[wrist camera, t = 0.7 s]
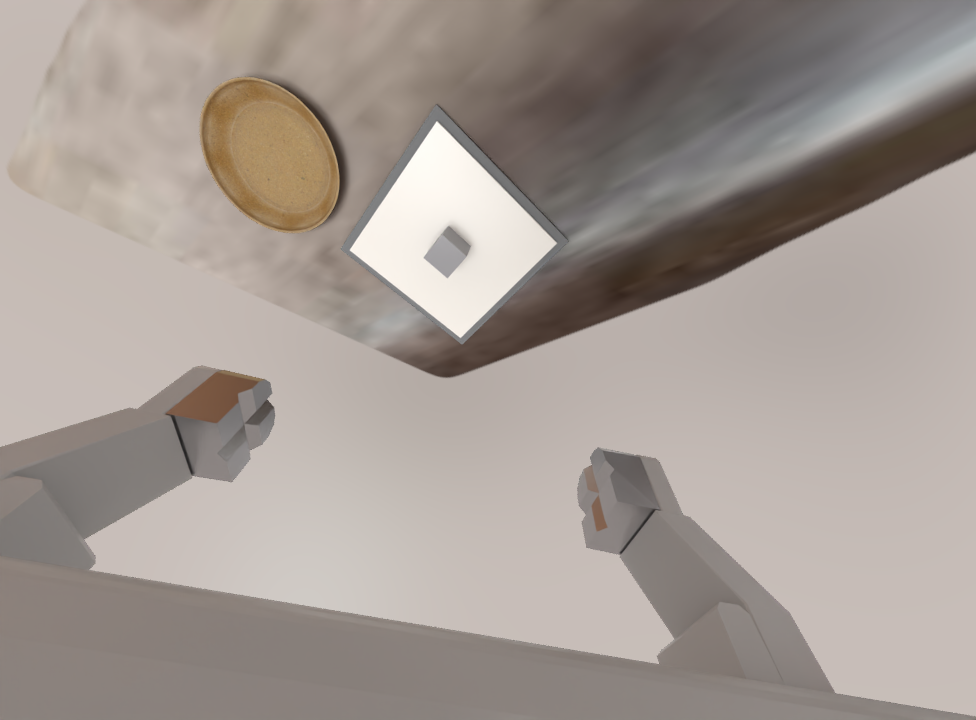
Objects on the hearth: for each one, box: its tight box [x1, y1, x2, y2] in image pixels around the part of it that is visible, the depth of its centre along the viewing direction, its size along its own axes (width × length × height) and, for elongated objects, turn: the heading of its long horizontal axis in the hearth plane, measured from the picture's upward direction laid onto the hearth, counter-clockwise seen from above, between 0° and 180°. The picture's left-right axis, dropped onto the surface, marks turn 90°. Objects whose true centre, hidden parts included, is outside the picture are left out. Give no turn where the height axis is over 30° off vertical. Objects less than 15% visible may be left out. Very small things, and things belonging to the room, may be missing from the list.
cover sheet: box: [350, 121, 557, 338], centre depth 42 cm, size 18×18×5 cm
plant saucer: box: [199, 77, 340, 233], centre depth 40 cm, size 15×15×3 cm
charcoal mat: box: [341, 104, 569, 344], centre depth 45 cm, size 20×20×1 cm
